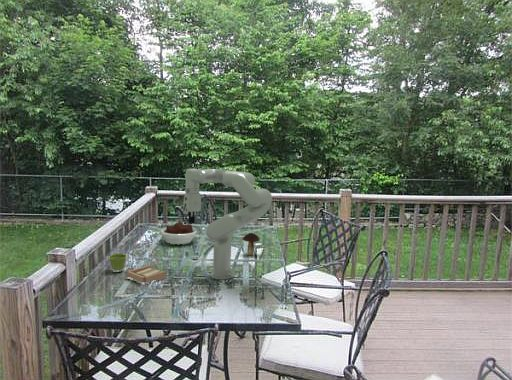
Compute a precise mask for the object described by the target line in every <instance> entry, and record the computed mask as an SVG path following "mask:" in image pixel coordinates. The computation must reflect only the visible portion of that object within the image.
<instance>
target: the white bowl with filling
mask: <svg viewBox="0 0 512 380" xmlns="http://www.w3.org/2000/svg"><path fill="white" fill-rule="evenodd" d="M197 232H198V231H197V229H196V228H195V227H193V225H192V224H191V223H188V224H183V222H182V221H179V222H176V223H174V224H173V225H166V227H163V228H161V229H160V232H159V233H160V234H161V237H163V238H164V241H165V242H166V243H167V244H169V243H170V245H175V244H177V245H176V246H180V244H182V245H187V244H189V243H191V242H192V240H193V238H194V237H195V236H196V234H197Z"/></svg>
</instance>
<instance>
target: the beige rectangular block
mask: <svg viewBox="0 0 512 380" xmlns="http://www.w3.org/2000/svg"><path fill="white" fill-rule="evenodd" d="M159 272H162V271H161V270H158V269H156V268H151V267H150V268H148V269H146V270H143V271H140V272H137V273H136V274H138V275H141V276H143V277H146V276H149V275H152V274H155V273H159Z"/></svg>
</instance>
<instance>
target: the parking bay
mask: <svg viewBox="0 0 512 380" xmlns="http://www.w3.org/2000/svg"><path fill="white" fill-rule="evenodd" d="M148 268H151V266H150V265H149V264H148V265H145V266H140V267H137V268H134V269H130V270H127V271H126V274H125V275H126V276H128V277H131V278H133V279H136V280H138V281H141V282H148V281H153V280H159V279H163V280H165V279H164V278H166V279H167V275H166V274H167V272H166V270H163V271H161V272H159V273H155V274H152V275H149V276H146V277H143V276H141V275H138V274H136V273H137V272H140V271H143V270H146V269H148Z"/></svg>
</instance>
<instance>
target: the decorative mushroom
mask: <svg viewBox="0 0 512 380" xmlns="http://www.w3.org/2000/svg"><path fill="white" fill-rule="evenodd" d="M242 240H243V241H244V242H248V244H247V249H246V251H247V255H248V256H250V255H252V256H254V254H255V244H254V242H255V243H256V242H260V237H259V235H257V234H255V233H253V232H249V233H247V234H245V235H244V236H243V238H242Z"/></svg>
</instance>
